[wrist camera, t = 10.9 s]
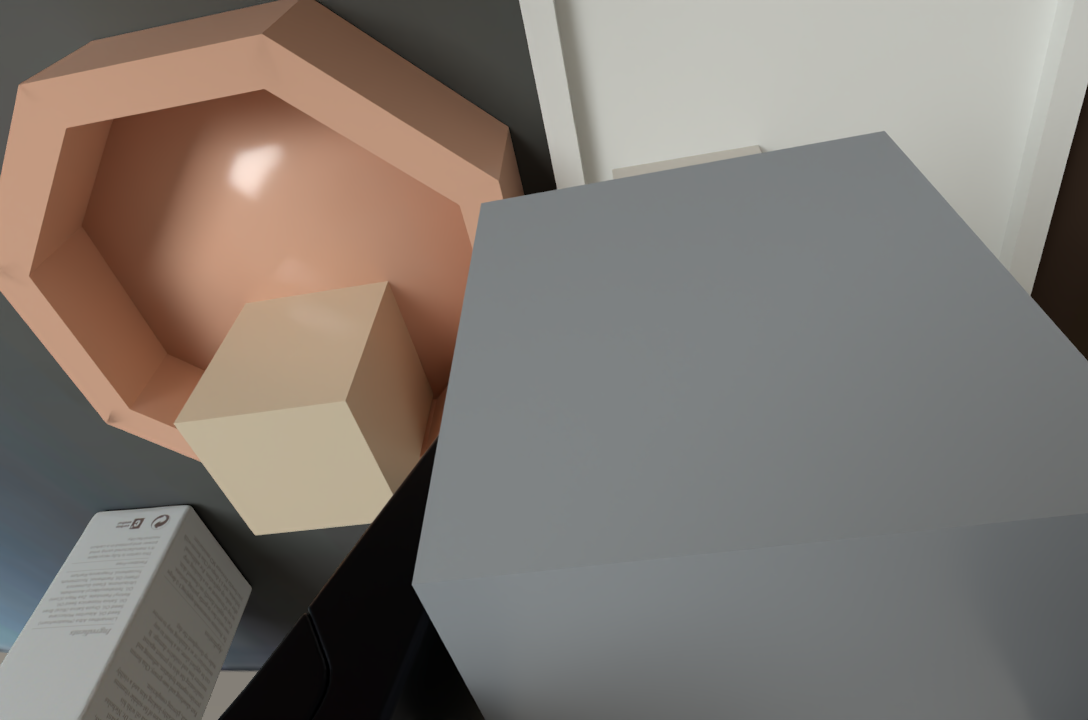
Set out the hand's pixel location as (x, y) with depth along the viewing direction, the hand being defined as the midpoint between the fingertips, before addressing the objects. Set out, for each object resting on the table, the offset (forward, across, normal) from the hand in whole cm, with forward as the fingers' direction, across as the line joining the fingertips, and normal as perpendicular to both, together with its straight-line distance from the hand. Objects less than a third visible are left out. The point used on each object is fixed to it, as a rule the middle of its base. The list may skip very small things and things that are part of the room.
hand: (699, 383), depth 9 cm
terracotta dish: (+12, +10, +4) cm, 15 cm away
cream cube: (+11, +10, +7) cm, 16 cm away
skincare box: (+12, +21, +16) cm, 29 cm away
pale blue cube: (+1, 0, 0) cm, 1 cm away
